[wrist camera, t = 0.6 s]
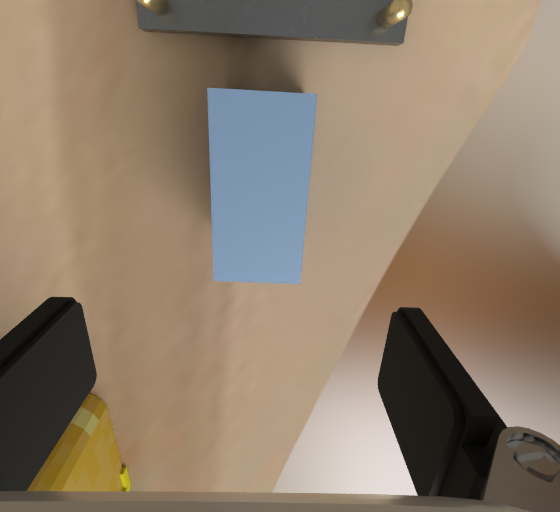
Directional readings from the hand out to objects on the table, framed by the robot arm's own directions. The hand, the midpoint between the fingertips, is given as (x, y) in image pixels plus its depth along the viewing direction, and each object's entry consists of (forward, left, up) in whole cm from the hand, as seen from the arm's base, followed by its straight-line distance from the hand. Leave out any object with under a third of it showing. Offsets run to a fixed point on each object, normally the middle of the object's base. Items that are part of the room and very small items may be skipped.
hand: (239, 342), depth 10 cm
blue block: (-1, 0, -20) cm, 20 cm away
